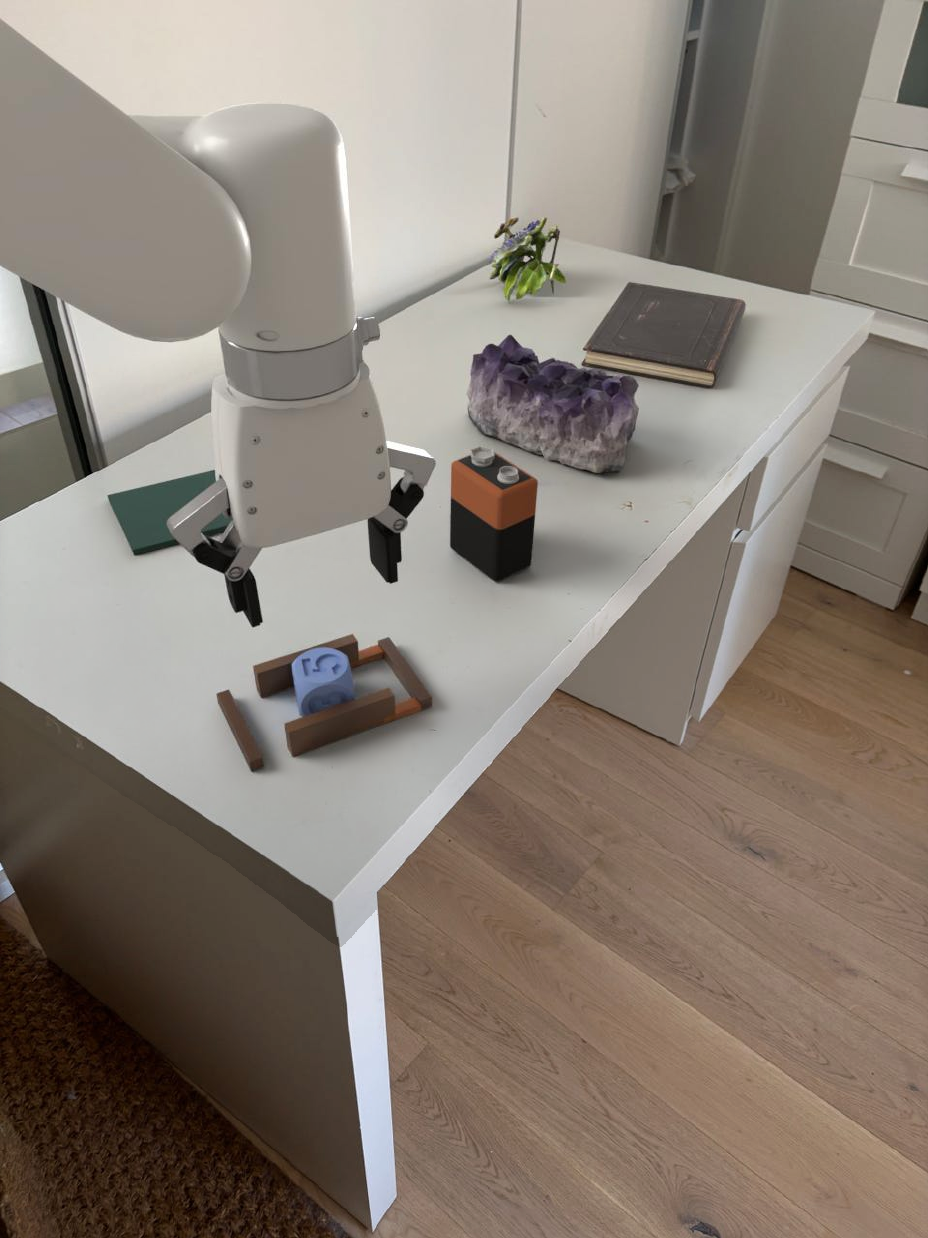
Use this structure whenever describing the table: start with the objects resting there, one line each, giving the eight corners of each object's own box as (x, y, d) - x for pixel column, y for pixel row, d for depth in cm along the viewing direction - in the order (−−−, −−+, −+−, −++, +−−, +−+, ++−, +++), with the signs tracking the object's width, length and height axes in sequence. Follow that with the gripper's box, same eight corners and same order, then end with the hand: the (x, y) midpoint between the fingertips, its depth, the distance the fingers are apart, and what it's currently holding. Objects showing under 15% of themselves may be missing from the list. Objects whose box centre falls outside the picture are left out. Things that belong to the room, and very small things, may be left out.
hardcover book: (581, 365, 117) (583, 347, 115) (626, 298, 133) (628, 281, 132) (713, 389, 113) (717, 371, 111) (743, 316, 129) (747, 300, 128)
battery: (484, 532, 89) (488, 436, 83) (533, 567, 85) (541, 469, 79) (447, 548, 87) (448, 451, 81) (495, 585, 83) (501, 486, 77)
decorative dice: (294, 690, 73) (289, 651, 70) (347, 682, 74) (344, 642, 71) (302, 728, 70) (297, 688, 67) (356, 718, 71) (353, 678, 68)
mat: (134, 555, 85) (132, 549, 85) (108, 500, 92) (107, 494, 92) (304, 510, 91) (303, 505, 91) (268, 461, 98) (268, 456, 98)
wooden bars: (251, 772, 67) (246, 747, 65) (217, 702, 72) (212, 678, 70) (432, 706, 72) (432, 682, 70) (389, 646, 77) (388, 622, 75)
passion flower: (502, 319, 140) (508, 234, 140) (575, 317, 136) (581, 230, 136) (474, 297, 130) (480, 206, 129) (552, 294, 126) (559, 200, 125)
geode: (435, 437, 103) (439, 343, 97) (489, 408, 111) (496, 320, 106) (610, 487, 94) (625, 387, 89) (654, 451, 103) (670, 358, 98)
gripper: (402, 302, 60) (410, 530, 71) (119, 359, 53) (177, 599, 65) (459, 349, 55) (458, 586, 66) (155, 418, 48) (210, 667, 59)
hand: (319, 592), depth 65 cm, fingers open, 9 cm apart
